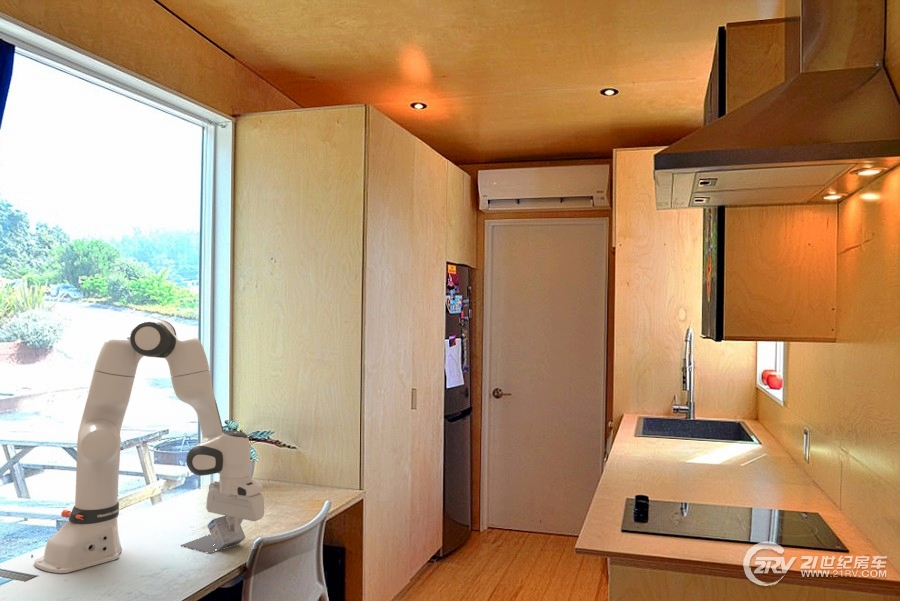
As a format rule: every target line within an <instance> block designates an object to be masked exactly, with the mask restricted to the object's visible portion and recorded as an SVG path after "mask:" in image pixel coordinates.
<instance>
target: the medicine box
mask: <svg viewBox="0 0 900 601" xmlns="http://www.w3.org/2000/svg"><path fill="white" fill-rule="evenodd" d="M233 519H234V523H236V521H235V517H234V518H233ZM207 528H208V531H209V534H211V536H212V539H213V541H214V544H215V546H216V549H217V550H218V551H221V549H222V550H225V549H228V548H230V546H232V547H235V546H238V545H239V544H240V543H242V542H243V541H244V540H245V539H246V535H245V532H244V530H243V528H242V526H241V524H240V530H239V531H238V532H234V531H230V530H229V525H228V522H227V520H226V516H225V515H222V516H219V517H216V518H213V519H212V520H211V521H209V523H208V524H207ZM237 544H238V545H237ZM234 545H235V546H234ZM227 547H228V548H227ZM224 548H225V549H224Z"/></svg>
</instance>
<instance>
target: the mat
mask: <svg viewBox="0 0 900 601" xmlns="http://www.w3.org/2000/svg"><path fill="white" fill-rule="evenodd" d="M207 535H208V536H207ZM198 538H199V539H198ZM198 538H196V539H194V540H190V541H188V542H185V543H183V544H180V547H182V546H184V547H183V548H186V547H188V548H187V549H190V548H191V549H190V550H193V549H196V550H195V551H197V550H199V551H198V552H201V551H203V552H202V553H205V552H208V553H211V552H213V551H215V549H216V546H215V545H214V541H213V539H212V536H211V535H210V533H209V534H206V535H204V536H201V537H198ZM213 545H214V546H213ZM208 553H207V554H208ZM213 553H214V552H213ZM211 554H212V553H211Z"/></svg>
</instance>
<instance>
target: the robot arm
mask: <svg viewBox="0 0 900 601" xmlns="http://www.w3.org/2000/svg"><path fill="white" fill-rule="evenodd" d="M143 357H149V358H160V359H165V360H166V362H167V364H168V367H169V374H170V380H171V383H172V388H173V390H174V393H175V395H176V398H178V400H180V401H182V402H183V403H185V404H187V405H189V406H190V407H192V408H193V409H194V411H195V413H196V415H197V419H198V424H199V428H200V432H201V435H202V439H201V442H199V443H198V444H195V445H194V446H193V447H192V448H191V449H190V450H189V451H188V453H187V456H186V460H185V461H186V465H187V468H188V470H189V471H190V472H191V473H193V474H194V475H196V476H200V477H201V476H210V475H215V474H219V481H211V483H210V484H209V485H208V491H207V496H206V505H205V506H206V510H207V512H208V513H212V514H214V515H215V514H216V515H220V516H226V520H227V522H228V525H229V530H230V531H234V532H238V531H239V530H240V525H241V524H242V522H243V521H245V520H246V521H251V522H257V521H259V520H261V519H263V518H264V515H265V499H264V495H263V494H262V493H263V491H264V485H263V484H261V483H260V482H258V481H256V480H255V479H253V478H252V477H251V471H250V463H251V444H250V440H249V436H248V435H247V434H246V433H244V432H243V431H241V430H236V429H235V430H233V429H232V430H230V429H228V430H225V431H224V428H223V424H222V420H221V419H222V418H221V416H220V413H219V412H220V411H219V408H218V404H217V400H216V397H215V393H214V389H213V383H212V377H211V376H212V375H211V370H210V365H209V362H208V358H207V354H206V351H205V348H204V347H203V343H202V342H201V340H200V339H198V338H197V337H194V336H178V335H177V332H176V328H175V327H174V326H173V324H171V323H170V322H168V321H166V320H164V319H160V318H150V319H149V318H148V319H145V320H142V321H140V322H138V323H137V324H135V326H134V327H133V328H132V330H131V332H130V335H123V334H121V335H120V334H118V335H114V336H110V337H108V338H107V339H106V340H105V341H104V342H103V345H102V347H101V349H100V351H99V354H98V357H97V360H96V362H95V366H94V370H93V373H92V378H91V381H90V382H91V383H90V387H89V390H88V394H87V398H86V402H85V405H84V410H83V413H82V417H81V421H80V424H79V429H78V433H77V443H76V447H77V448H76V470H75V472H76V474H75V499H74V500H75V501H74V504H75V505H73V507H72V510H68V509H63V510H62V511H61V512H60V515H61V517H63V518H66V519H68V521H67V522H66V523H65V524H64V525H63V526H62V527H61V528H60V529H59V530H58V531H57V532H55V534H53V535H52V536H51V537H50V538H49V539H48V540H47V541H46V544H45V549H44V554H43V556H41V557H39V558H36V559H35V560H34V567H36V568H38V569H39V570H43V571H45V572H48V573H49V572H50V573H55V574H68V573H71V572H75V571H78V570H82V569H86V568H90V567H93V566H97V565H101V564H104V563H107V562H108V563H109V562H112V561H115V560H118V559H119V558H120V555H119V554H121V552H122V551H123V548H122V545H121V541H120V535H119V534H120V533H119V527H118V526H119V524H118V517H119V513H120V502H119V501H118V499H119V498H118V497H119V473H120V460H121V447H122V446H121V442H122V441H121V440H122V438H121V430H122V427H123V426H122V425H123V422H124V419H125V415H126V411H127V409H128V405H129V402H130V399H131V395H132V390H133V385H134V382H135V378H136V373H137V369H138V365H139V363H140V361H141V360H142V358H143ZM234 517H235V521H236V523H234V519H233V518H234Z"/></svg>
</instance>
